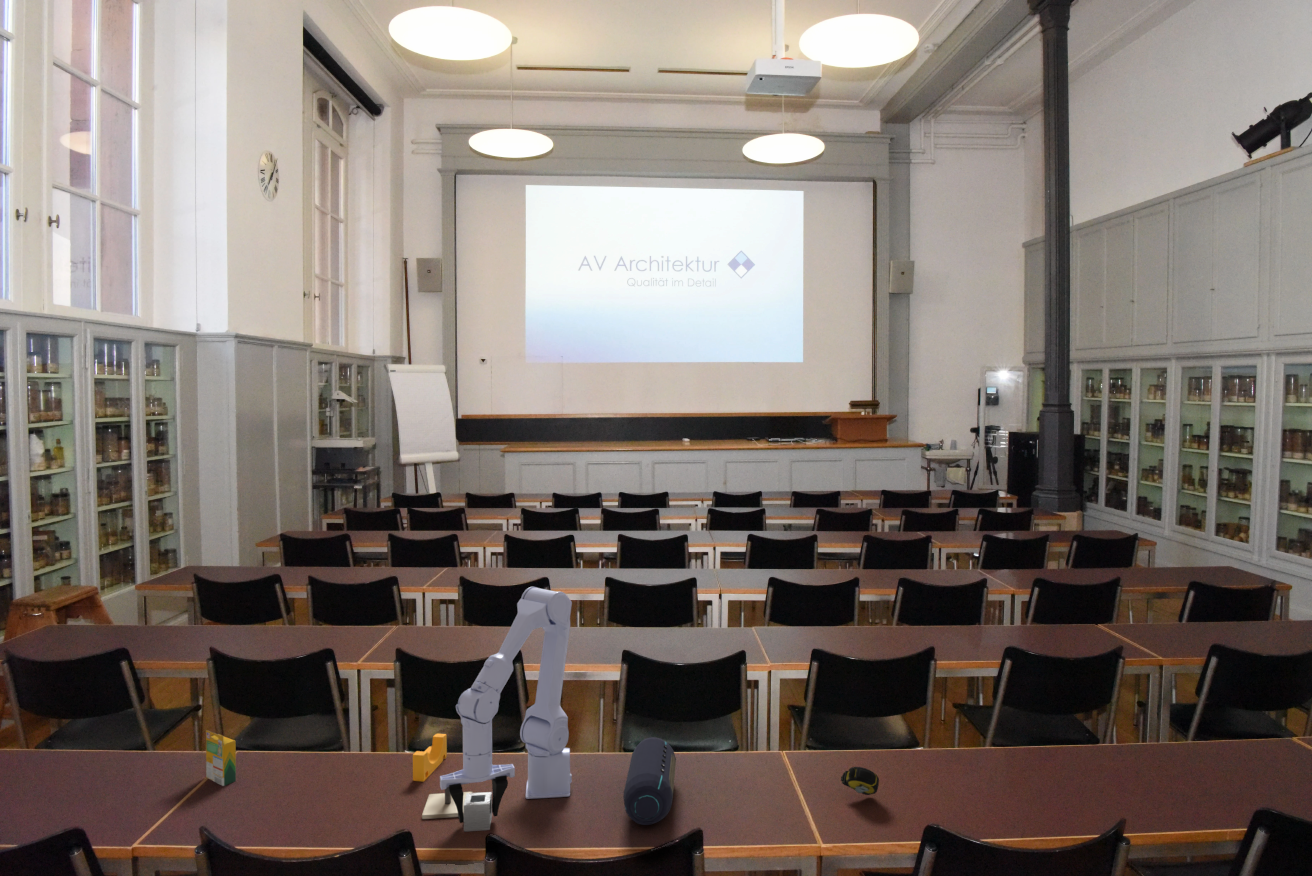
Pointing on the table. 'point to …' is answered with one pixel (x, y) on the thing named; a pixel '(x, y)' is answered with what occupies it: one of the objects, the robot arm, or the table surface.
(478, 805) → the grey hollow cube
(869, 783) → the tape measure
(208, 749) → the crayon box
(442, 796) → the cream tile with peg
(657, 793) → the portable speaker
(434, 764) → the pipe clamp
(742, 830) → the table surface
